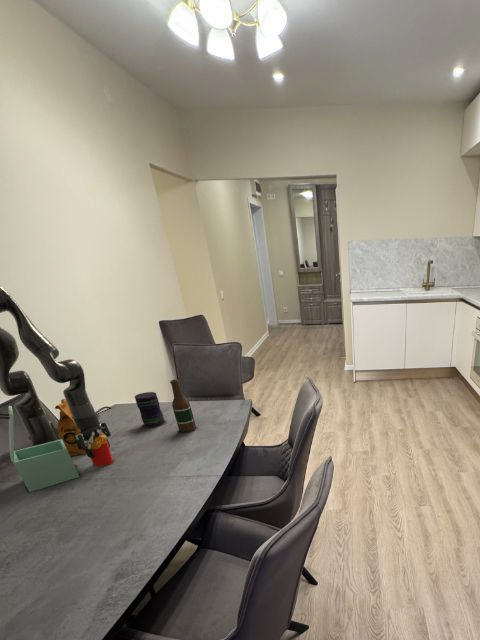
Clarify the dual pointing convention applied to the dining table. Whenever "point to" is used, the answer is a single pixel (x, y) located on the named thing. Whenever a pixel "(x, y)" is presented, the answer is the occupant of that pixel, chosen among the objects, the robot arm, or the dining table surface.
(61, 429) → the coffee package
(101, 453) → the french fries
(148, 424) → the dark barrel
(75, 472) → the cool box
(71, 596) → the dining table surface
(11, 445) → the lid
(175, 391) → the beer bottle
